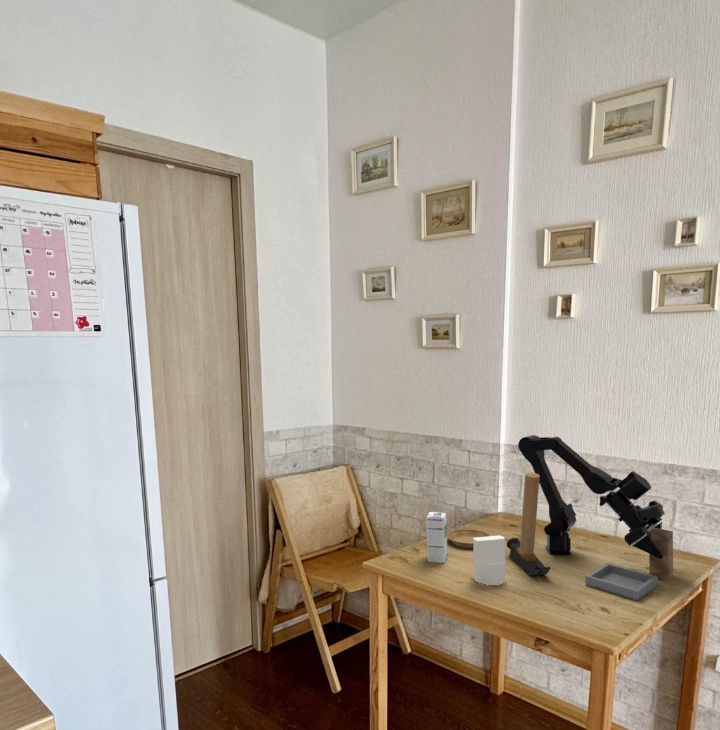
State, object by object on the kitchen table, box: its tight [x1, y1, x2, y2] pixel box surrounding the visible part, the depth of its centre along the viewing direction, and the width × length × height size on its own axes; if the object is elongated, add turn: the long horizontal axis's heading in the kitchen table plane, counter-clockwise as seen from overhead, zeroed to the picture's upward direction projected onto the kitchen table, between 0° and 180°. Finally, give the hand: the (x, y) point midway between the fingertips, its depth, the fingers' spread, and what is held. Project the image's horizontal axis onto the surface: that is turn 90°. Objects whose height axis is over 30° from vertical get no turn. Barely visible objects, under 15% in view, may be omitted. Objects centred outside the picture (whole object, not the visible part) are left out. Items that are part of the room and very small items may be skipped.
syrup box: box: [425, 511, 448, 564], centre depth 173 cm, size 6×6×14 cm
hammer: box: [506, 472, 552, 576], centre depth 164 cm, size 20×5×30 cm, turn 7°
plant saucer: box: [447, 528, 491, 549], centre depth 189 cm, size 15×15×3 cm
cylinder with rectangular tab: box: [472, 535, 506, 586], centre depth 158 cm, size 9×9×12 cm
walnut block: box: [648, 528, 674, 582], centre depth 158 cm, size 5×5×13 cm
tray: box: [584, 562, 659, 602], centre depth 152 cm, size 14×14×2 cm
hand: (666, 553), depth 157 cm, fingers open, 9 cm apart
